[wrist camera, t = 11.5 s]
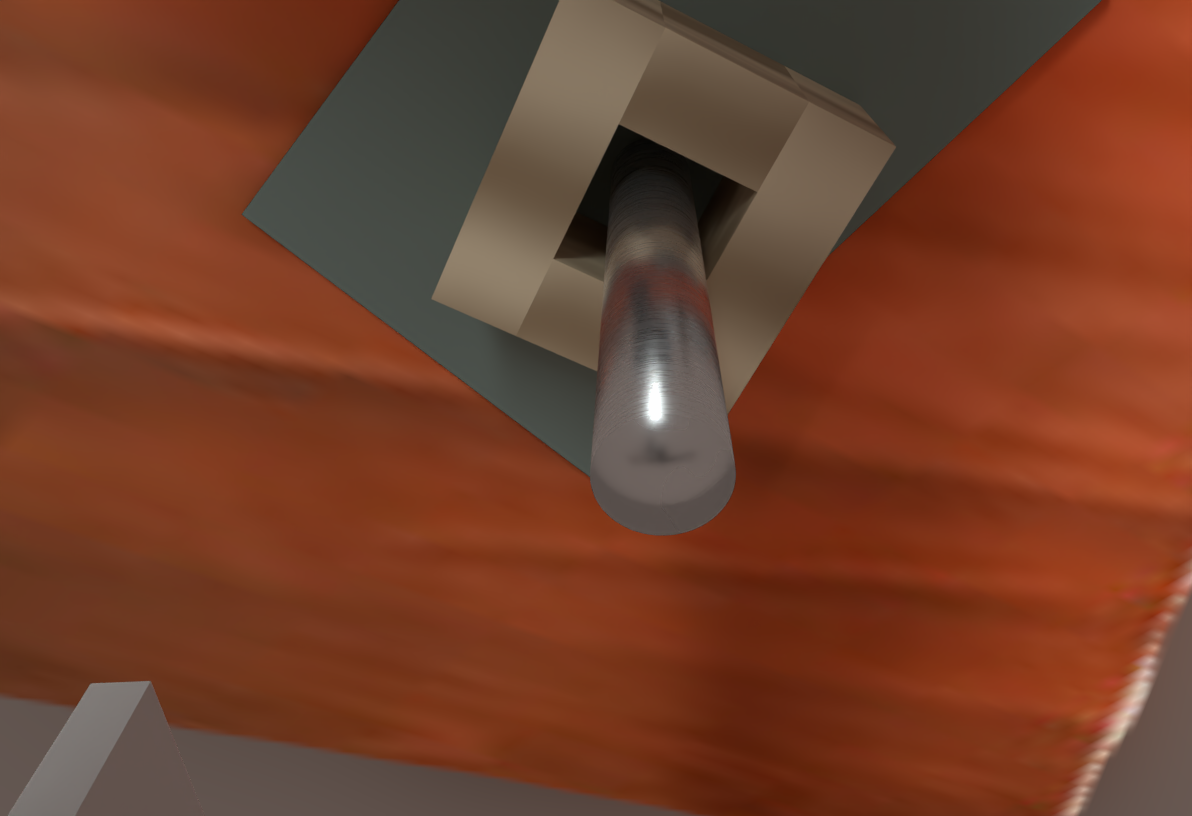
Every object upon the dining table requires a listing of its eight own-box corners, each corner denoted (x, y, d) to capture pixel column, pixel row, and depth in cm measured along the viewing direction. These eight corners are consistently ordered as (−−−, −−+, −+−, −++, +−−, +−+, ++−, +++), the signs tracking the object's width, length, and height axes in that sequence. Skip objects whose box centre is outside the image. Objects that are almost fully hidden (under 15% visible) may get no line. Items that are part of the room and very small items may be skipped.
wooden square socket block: (577, -43, 30) (568, -22, 26) (860, 104, 32) (896, 146, 28) (455, 241, 35) (431, 299, 31) (709, 355, 37) (721, 425, 33)
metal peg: (632, 124, 33) (630, 391, 17) (703, 159, 33) (762, 449, 18) (598, 194, 34) (566, 502, 18) (666, 226, 34) (692, 554, 19)
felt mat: (741, -464, 26) (742, -468, 25) (1111, -16, 31) (1116, -14, 30) (245, 210, 35) (241, 214, 35) (590, 472, 40) (590, 477, 40)
